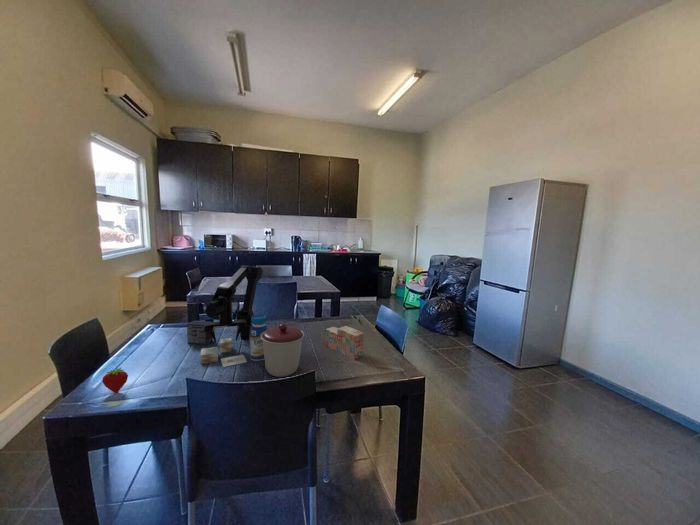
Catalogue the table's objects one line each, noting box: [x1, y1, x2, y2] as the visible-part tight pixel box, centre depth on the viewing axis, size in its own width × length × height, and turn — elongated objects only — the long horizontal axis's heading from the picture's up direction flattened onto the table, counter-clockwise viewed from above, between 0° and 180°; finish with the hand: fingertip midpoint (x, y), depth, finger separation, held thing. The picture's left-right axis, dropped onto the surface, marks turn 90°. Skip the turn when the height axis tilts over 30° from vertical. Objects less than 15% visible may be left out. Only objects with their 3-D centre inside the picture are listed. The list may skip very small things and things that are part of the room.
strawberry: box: [101, 364, 129, 394], centre depth 104 cm, size 6×8×10 cm
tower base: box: [200, 346, 219, 365], centre depth 132 cm, size 7×7×4 cm
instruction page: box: [220, 354, 248, 368], centre depth 132 cm, size 10×8×1 cm
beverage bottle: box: [248, 313, 269, 362], centre depth 135 cm, size 8×8×20 cm
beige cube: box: [219, 337, 233, 354], centre depth 142 cm, size 5×5×5 cm
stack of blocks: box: [324, 325, 364, 360], centre depth 147 cm, size 21×6×12 cm, turn 46°
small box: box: [186, 320, 214, 346], centre depth 149 cm, size 11×6×10 cm, turn 84°
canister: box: [261, 323, 305, 378], centre depth 124 cm, size 18×18×21 cm
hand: (226, 341), depth 142 cm, fingers open, 9 cm apart
